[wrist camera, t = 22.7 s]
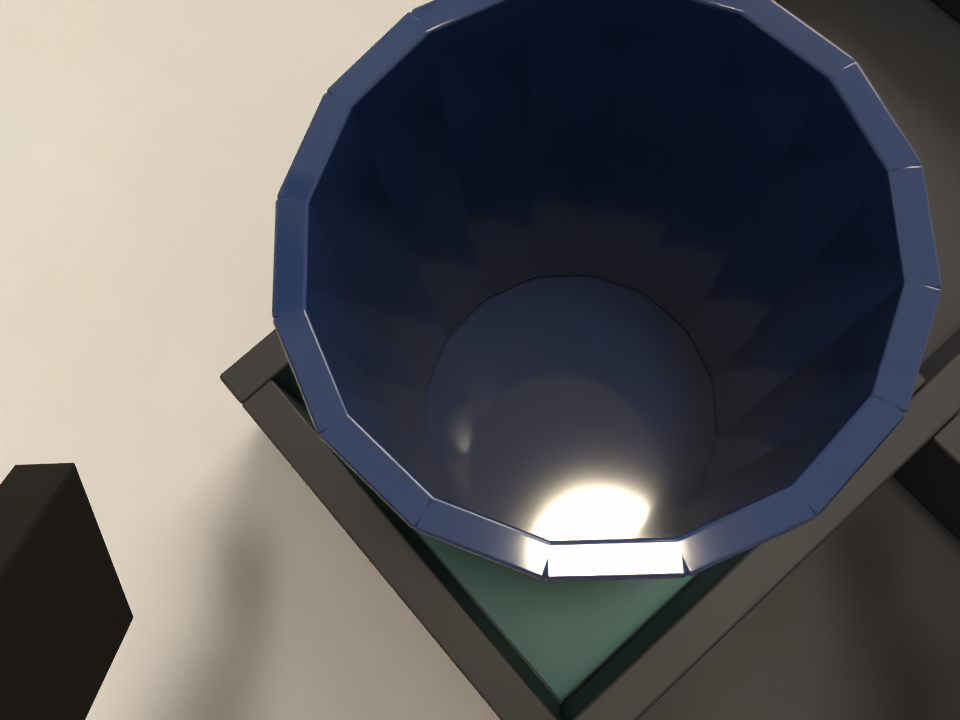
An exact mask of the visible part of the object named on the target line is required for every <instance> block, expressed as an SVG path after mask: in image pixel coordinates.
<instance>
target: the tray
mask: <svg viewBox="0 0 960 720" xmlns="http://www.w3.org/2000/svg"><path fill="white" fill-rule="evenodd" d="M774 1H776V2H777V3H778V4H780V5H781V6H782V7H784V8H785V9H787V10H788V11H789V12H791V13H792V14H794V15H795V16H796V17H798V18H799V19H801V20H802V21H803V22H805V23H806V24H807V25H809V26H810V27H812V28H813V29H814V30H816V31H817V32H819V33H820V34H821V35H823V36H824V37H826V38H827V39H828V40H830V41H831V42H832V43H834V44H835V45H837V46H838V47H839V48H841V49H842V50H844V51H845V52H846V53H848V54H849V55H851V56H852V57H853V58H854V62H858V63H859V65H860V66H861V68H862V69H863V71H864V73H865V74H866V76H867V77H868V79H869V80H870V82H871V84H872V85H873V87H874V88H875V90H876V91H877V93H878V95H879V96H880V98H881V99H882V101H883V102H884V104H885V106H886V107H887V109H888V110H889V112H890V113H891V115H892V117H893V118H894V120H895V121H896V123H897V124H898V126H899V128H900V129H901V131H902V132H903V134H904V135H905V137H906V139H907V140H908V142H909V143H910V145H911V146H912V148H913V150H914V151H915V153H916V154H917V156H918V157H919V159H920V161H921V166H923V169H924V175H925V181H926V188H927V194H928V200H929V207H930V213H931V220H932V226H933V232H934V239H935V245H936V251H937V258H938V264H939V270H940V277H941V283H942V286H941V289H940V290H941V296H940V300H939V303H938V307H937V310H936V314H935V317H934V321H933V324H932V328H931V331H930V335H929V338H928V342H927V345H926V349H925V352H924V356H923V359H922V363H921V366H920V370H919V373H918V377H917V380H916V384H915V387H914V391H913V394H912V398H911V401H910V405H909V408H908V411H907V412H906V413H905V415H904V419H903V420H902V421H901V422H900V423H899V424H898V426H897V427H896V428H895V429H894V430H893V431H892V432H891V434H890V435H889V436H888V437H887V438H886V439H885V441H884V442H883V443H882V444H881V445H880V446H879V447H878V449H877V450H876V451H875V452H874V453H873V454H872V456H871V457H870V458H869V459H868V460H867V461H866V462H865V464H864V465H863V466H862V467H861V468H860V469H859V470H858V472H857V473H856V474H855V475H854V476H853V477H852V479H851V480H850V481H849V482H848V483H847V484H846V485H845V487H844V488H843V489H842V490H841V491H840V492H839V494H838V495H837V496H836V497H835V498H834V499H833V500H832V502H831V503H830V504H829V505H828V506H827V507H826V509H825V510H824V511H823V512H822V513H821V514H820V515H818V516H815V518H814V519H813V520H812V521H810V522H808V523H806V524H804V525H801V526H799V527H797V528H795V529H793V530H791V531H788V532H786V533H784V534H782V535H780V536H778V537H775V538H773V539H771V540H769V541H767V542H765V543H762V544H760V545H758V546H756V547H754V548H752V549H749V550H747V551H745V552H743V553H741V554H739V555H736V556H734V557H732V558H730V559H728V560H726V561H723V562H721V563H719V564H717V565H715V566H713V567H710V568H708V569H706V570H704V571H702V572H700V573H697V574H695V575H693V576H686V577H684V578H664V579H624V580H585V581H547V580H545V579H543V580H539V579H537V578H534V577H531V576H529V575H526V574H524V573H521V572H519V571H516V570H514V569H511V568H509V567H506V566H504V565H501V564H498V563H496V562H493V561H491V560H488V559H486V558H483V557H481V556H478V555H476V554H473V553H471V552H468V551H465V550H463V549H460V548H458V547H455V546H453V545H450V544H448V543H445V542H443V541H440V540H438V539H435V538H433V537H430V536H427V535H425V534H422V533H420V532H418V531H417V530H416V529H415V528H412V527H410V526H409V525H408V524H407V523H406V522H405V521H404V520H403V519H402V518H401V517H400V516H399V515H398V514H397V513H396V512H395V511H394V510H393V509H392V508H391V507H390V506H389V505H388V504H387V503H386V502H385V501H384V500H383V499H382V498H381V497H380V496H378V495H377V494H376V493H375V492H374V491H373V490H372V489H371V488H370V487H369V486H368V485H367V484H366V483H365V482H364V481H363V480H362V479H361V478H360V477H359V476H358V475H357V474H356V473H355V472H354V471H353V470H352V469H351V468H350V467H349V466H348V465H347V464H346V463H345V462H344V461H343V460H342V459H341V458H340V457H339V456H338V455H337V454H336V453H335V452H334V451H333V450H332V449H331V448H330V447H329V446H328V445H327V444H326V443H325V442H324V441H323V440H322V439H321V437H320V436H321V435H320V434H318V433H317V431H316V429H315V426H314V424H313V421H312V419H311V416H310V414H309V411H308V409H307V406H306V404H305V401H304V399H303V396H302V394H301V391H300V389H299V386H298V384H297V381H296V379H295V376H294V374H293V371H292V369H291V366H290V364H289V361H288V359H287V356H286V354H285V351H284V349H283V346H282V344H281V341H280V339H279V336H278V334H277V331H276V329H275V330H273V331H272V332H271V333H270V334H269V335H268V336H266V337H265V338H264V339H263V340H262V341H260V342H259V343H258V344H257V345H256V346H254V347H253V348H252V349H251V350H250V351H249V352H247V353H246V354H245V355H244V356H243V357H241V358H240V359H239V360H238V361H237V362H236V363H234V364H233V365H232V366H231V367H230V368H228V369H227V370H226V371H225V372H224V373H222V374H221V376H220V378H221V380H222V382H223V383H224V384H225V385H226V386H227V388H228V389H229V390H230V391H231V392H232V394H233V395H234V396H235V397H236V399H237V400H238V401H239V402H240V403H242V405H243V407H244V409H245V410H246V411H247V412H248V413H249V415H250V416H251V417H252V418H253V419H254V421H255V422H256V423H257V424H258V426H259V427H260V428H261V429H262V430H263V432H264V433H265V434H266V435H267V436H268V438H269V439H270V440H271V441H272V443H273V444H274V445H275V446H276V447H277V449H278V450H279V451H280V452H281V453H282V455H283V456H284V457H285V458H286V460H287V461H288V462H289V463H290V464H291V466H292V467H293V468H294V469H295V470H296V472H297V473H298V474H299V475H300V477H301V478H302V479H303V480H304V481H305V483H306V484H307V485H308V486H309V487H310V489H311V490H312V491H313V492H314V494H315V495H316V496H317V497H318V498H319V500H320V501H321V502H322V503H323V504H324V506H325V507H326V508H327V509H328V511H329V512H330V513H331V514H332V515H333V517H334V518H335V519H336V520H337V521H338V523H339V524H340V525H341V526H342V528H343V529H344V530H345V531H346V532H347V534H348V535H349V536H350V537H351V538H352V540H353V541H354V542H355V543H356V545H357V546H358V547H359V548H360V549H361V551H362V552H363V553H364V554H365V555H366V557H367V558H368V559H369V560H370V562H371V563H372V564H373V565H374V566H375V568H376V569H377V570H378V571H379V572H380V574H381V575H382V576H383V577H384V579H385V580H386V581H387V582H388V583H389V585H390V586H391V587H392V588H393V589H394V591H395V592H396V593H397V594H398V596H399V597H400V598H401V599H402V600H403V602H404V603H405V604H406V605H407V606H408V608H409V609H410V610H411V611H412V613H413V614H414V615H415V616H416V617H417V619H418V620H419V621H420V622H421V623H422V625H423V626H424V627H425V628H426V630H427V631H428V632H429V633H430V634H431V636H432V637H433V638H434V639H435V640H436V642H437V643H438V644H439V645H440V647H441V648H442V649H443V650H444V651H445V653H446V654H447V655H448V656H449V657H450V659H451V660H452V661H453V662H454V664H455V665H456V666H457V667H458V668H459V670H460V671H461V672H462V673H463V674H464V676H465V677H466V678H467V679H468V681H469V682H470V683H471V684H472V685H473V687H474V688H475V689H476V690H477V691H478V693H479V694H480V695H481V696H482V698H483V699H484V700H485V701H486V702H487V704H488V705H489V706H490V707H491V708H492V710H493V711H494V712H495V713H496V715H497V716H498V717H499V718H500V719H501V720H960V0H774Z"/></svg>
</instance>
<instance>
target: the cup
mask: <svg viewBox="0 0 960 720" xmlns="http://www.w3.org/2000/svg"><path fill="white" fill-rule="evenodd" d="M277 198H278V199H277V200H276V206H275V236H274V266H273V297H272V316H273V318H274V319H273V323H274V326H275V329H276V331H277V334H278V336H279V339H280V341H281V344H282V346H283V349H284V351H285V354H286V356H287V359H288V361H289V364H290V366H291V369H292V371H293V374H294V376H295V379H296V381H297V384H298V386H299V389H300V391H301V394H302V396H303V399H304V401H305V404H306V406H307V409H308V411H309V414H310V416H311V419H312V421H313V424H314V426H315V429H316V431H317V433H318V434H320V435H321V436H320V437H321V439H322V440H323V441H324V442H325V443H326V444H327V445H328V446H329V447H330V448H331V449H332V450H333V451H334V452H335V453H336V454H337V455H338V456H339V457H340V458H341V459H342V460H343V461H344V462H345V463H346V464H347V465H348V466H349V467H350V468H351V469H352V470H353V471H354V472H355V473H356V474H357V475H358V476H359V477H360V478H361V479H362V480H363V481H364V482H365V483H366V484H367V485H368V486H369V487H370V488H371V489H372V490H373V491H374V492H375V493H376V494H377V495H378V496H380V497H381V498H382V499H383V500H384V501H385V502H386V503H387V504H388V505H389V506H390V507H391V508H392V509H393V510H394V511H395V512H396V513H397V514H398V515H399V516H400V517H401V518H402V519H403V520H404V521H405V522H406V523H407V524H408V525H409V526H410V527H412V528H415V529H416V530H417V531H418V532H420V533H422V534H425V535H427V536H430V537H433V538H435V539H438V540H440V541H443V542H445V543H448V544H450V545H453V546H455V547H458V548H460V549H463V550H465V551H468V552H471V553H473V554H476V555H478V556H481V557H483V558H486V559H488V560H491V561H493V562H496V563H498V564H501V565H504V566H506V567H509V568H511V569H514V570H516V571H519V572H521V573H524V574H526V575H529V576H531V577H534V578H537V579H539V580H543V579H545V580H547V581H585V580H624V579H664V578H684V577H686V576H693V575H695V574H697V573H700V572H702V571H704V570H706V569H708V568H710V567H713V566H715V565H717V564H719V563H721V562H723V561H726V560H728V559H730V558H732V557H734V556H736V555H739V554H741V553H743V552H745V551H747V550H749V549H752V548H754V547H756V546H758V545H760V544H762V543H765V542H767V541H769V540H771V539H773V538H775V537H778V536H780V535H782V534H784V533H786V532H788V531H791V530H793V529H795V528H797V527H799V526H801V525H804V524H806V523H808V522H810V521H812V520H813V519H814V518H815V516H818V515H820V514H821V513H822V512H823V511H824V510H825V509H826V507H827V506H828V505H829V504H830V503H831V502H832V500H833V499H834V498H835V497H836V496H837V495H838V494H839V492H840V491H841V490H842V489H843V488H844V487H845V485H846V484H847V483H848V482H849V481H850V480H851V479H852V477H853V476H854V475H855V474H856V473H857V472H858V470H859V469H860V468H861V467H862V466H863V465H864V464H865V462H866V461H867V460H868V459H869V458H870V457H871V456H872V454H873V453H874V452H875V451H876V450H877V449H878V447H879V446H880V445H881V444H882V443H883V442H884V441H885V439H886V438H887V437H888V436H889V435H890V434H891V432H892V431H893V430H894V429H895V428H896V427H897V426H898V424H899V423H900V422H901V421H902V420H903V419H904V415H905V413H906V412H907V411H908V408H909V405H910V401H911V398H912V394H913V391H914V387H915V384H916V380H917V377H918V373H919V370H920V366H921V363H922V359H923V356H924V352H925V349H926V345H927V342H928V338H929V335H930V331H931V328H932V324H933V321H934V317H935V314H936V310H937V307H938V303H939V300H940V296H941V290H940V289H941V286H942V283H941V277H940V270H939V264H938V258H937V251H936V245H935V239H934V232H933V226H932V220H931V213H930V207H929V200H928V194H927V188H926V181H925V175H924V169H923V166H921V161H920V159H919V157H918V156H917V154H916V153H915V151H914V150H913V148H912V146H911V145H910V143H909V142H908V140H907V139H906V137H905V135H904V134H903V132H902V131H901V129H900V128H899V126H898V124H897V123H896V121H895V120H894V118H893V117H892V115H891V113H890V112H889V110H888V109H887V107H886V106H885V104H884V102H883V101H882V99H881V98H880V96H879V95H878V93H877V91H876V90H875V88H874V87H873V85H872V84H871V82H870V80H869V79H868V77H867V76H866V74H865V73H864V71H863V69H862V68H861V66H860V65H859V63H858V62H854V58H853V57H852V56H851V55H849V54H848V53H846V52H845V51H844V50H842V49H841V48H839V47H838V46H837V45H835V44H834V43H832V42H831V41H830V40H828V39H827V38H826V37H824V36H823V35H821V34H820V33H819V32H817V31H816V30H814V29H813V28H812V27H810V26H809V25H807V24H806V23H805V22H803V21H802V20H801V19H799V18H798V17H796V16H795V15H794V14H792V13H791V12H789V11H788V10H787V9H785V8H784V7H782V6H781V5H780V4H778V3H777V2H776V1H774V0H433V1H431V2H429V3H426V4H424V5H422V6H419V7H417V8H415V9H413V10H412V13H411V12H409V13H407V14H406V15H405V16H404V17H403V18H402V19H401V20H400V21H399V22H398V23H397V24H396V25H394V26H393V27H392V28H391V29H390V30H389V31H388V32H387V33H386V34H385V35H384V36H383V37H382V38H381V39H380V40H379V41H378V42H377V43H376V44H375V45H373V46H372V47H371V48H370V49H369V50H368V51H367V52H366V53H365V54H364V55H363V56H362V57H361V58H360V59H359V60H358V61H357V62H356V63H355V64H354V65H352V66H351V67H350V68H349V69H348V70H347V71H346V72H345V73H344V74H343V75H342V76H341V77H340V78H339V79H338V80H337V81H336V82H335V83H334V84H333V85H331V86H330V87H329V88H328V90H327V93H325V94H324V95H323V98H322V100H321V102H320V104H319V106H318V108H317V111H316V113H315V115H314V117H313V119H312V121H311V124H310V126H309V128H308V130H307V132H306V134H305V136H304V139H303V141H302V143H301V145H300V147H299V149H298V152H297V154H296V156H295V158H294V160H293V162H292V165H291V167H290V169H289V171H288V173H287V175H286V178H285V180H284V182H283V184H282V186H281V188H280V191H279V193H278V196H277Z"/></svg>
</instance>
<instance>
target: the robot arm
mask: <svg viewBox="0 0 960 720" xmlns="http://www.w3.org/2000/svg"><path fill="white" fill-rule="evenodd" d="M132 619H133V615H132V612H131V610H130V607H129V605H128V602H127V599H126V597H125V594H124V592H123V589H122V586H121V584H120V581H119V579H118V576H117V573H116V571H115V568H114V566H113V563H112V560H111V558H110V555H109V552H108V550H107V547H106V545H105V542H104V539H103V537H102V534H101V532H100V529H99V526H98V524H97V521H96V519H95V516H94V513H93V511H92V508H91V506H90V503H89V500H88V498H87V495H86V492H85V490H84V487H83V485H82V482H81V479H80V477H79V474H78V472H77V469H76V466H75V464H74V463H58V464H32V465H15V466H14V468H13V469H12V470H11V471H10V473H9V474H8V475H7V477H6V478H5V479H4V481H3V482H2V483H1V484H0V720H85V719H86V716H87V714H88V712H89V710H90V708H91V706H92V704H93V702H94V700H95V697H96V695H97V693H98V691H99V689H100V687H101V685H102V683H103V681H104V678H105V676H106V674H107V672H108V670H109V668H110V666H111V664H112V662H113V659H114V657H115V655H116V653H117V651H118V649H119V647H120V645H121V643H122V640H123V638H124V636H125V634H126V632H127V630H128V628H129V626H130V623H131V621H132Z"/></svg>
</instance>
